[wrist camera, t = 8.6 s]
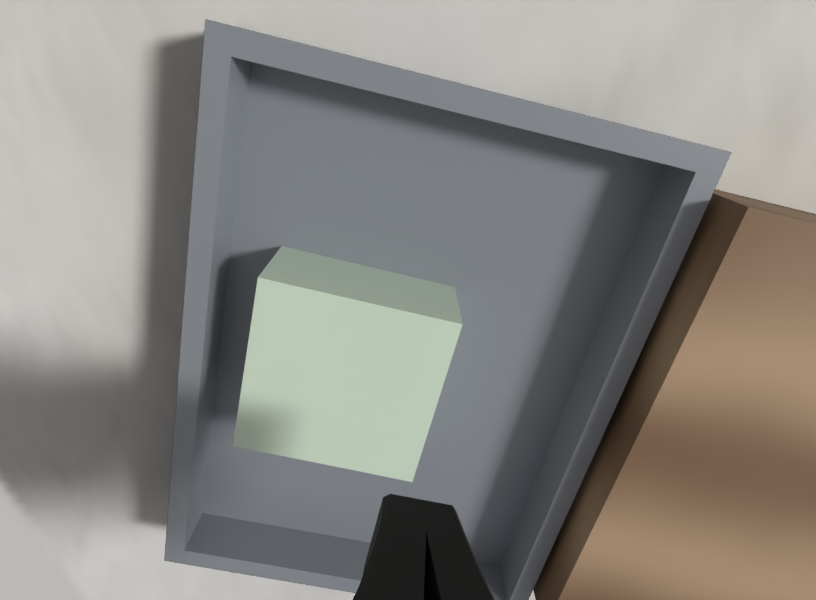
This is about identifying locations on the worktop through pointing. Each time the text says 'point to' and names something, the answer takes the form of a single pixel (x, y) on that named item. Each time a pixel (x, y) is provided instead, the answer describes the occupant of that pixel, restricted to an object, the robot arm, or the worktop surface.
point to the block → (345, 363)
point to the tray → (429, 260)
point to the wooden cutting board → (710, 431)
